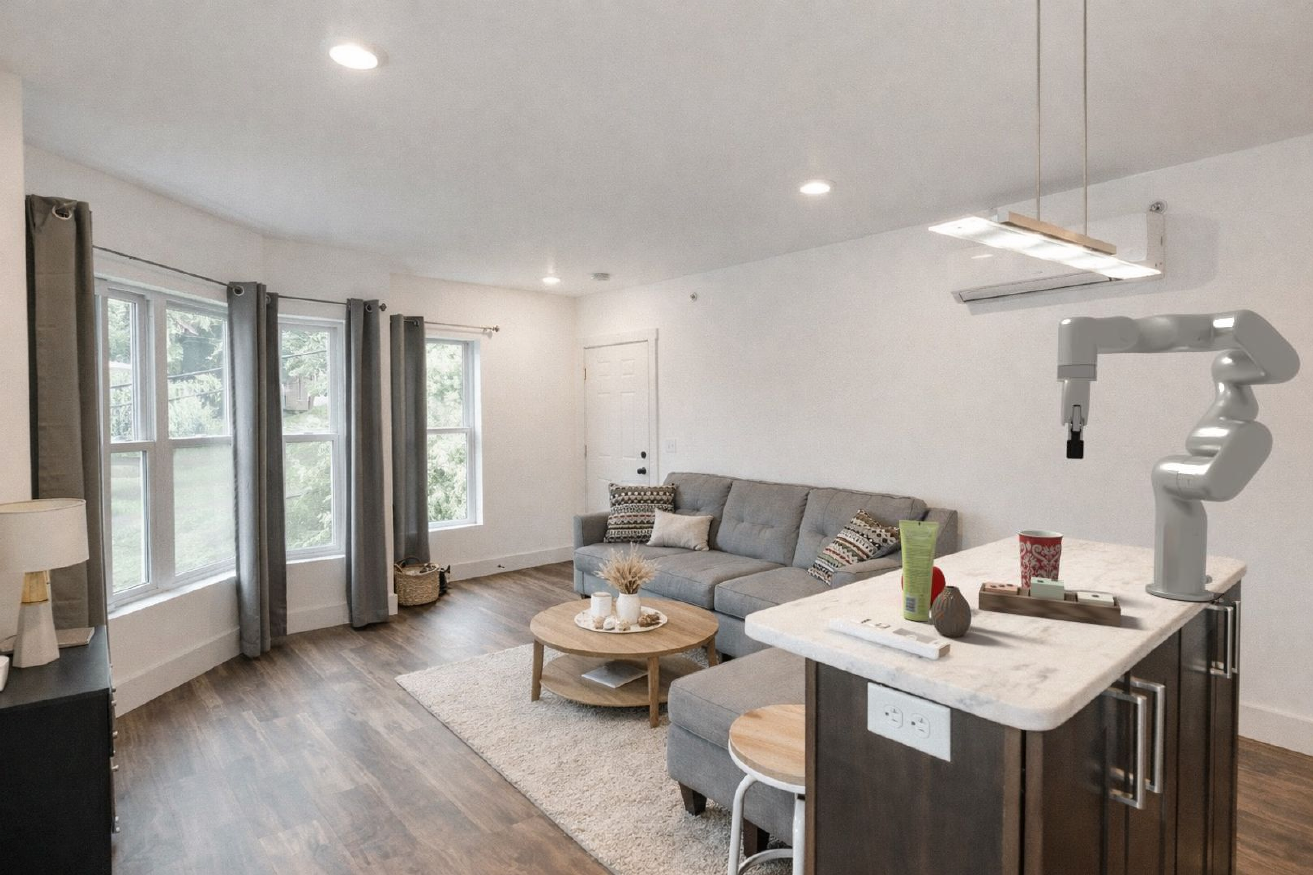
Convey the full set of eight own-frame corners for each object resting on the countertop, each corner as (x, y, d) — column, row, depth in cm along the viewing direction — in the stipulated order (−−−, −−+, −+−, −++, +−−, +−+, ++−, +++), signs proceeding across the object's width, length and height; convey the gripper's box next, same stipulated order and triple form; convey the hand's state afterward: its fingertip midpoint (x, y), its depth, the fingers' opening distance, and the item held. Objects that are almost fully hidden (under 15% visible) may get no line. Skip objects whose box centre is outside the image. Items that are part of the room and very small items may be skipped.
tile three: (1017, 598, 154) (1017, 583, 154) (1016, 605, 149) (1016, 589, 149) (986, 595, 157) (987, 580, 157) (984, 601, 152) (984, 586, 151)
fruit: (955, 606, 153) (956, 559, 153) (923, 611, 149) (924, 563, 149) (921, 595, 161) (922, 551, 161) (891, 600, 157) (891, 554, 157)
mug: (1047, 598, 159) (1048, 537, 159) (1008, 589, 167) (1010, 531, 167) (1078, 591, 166) (1080, 533, 165) (1040, 583, 174) (1041, 527, 173)
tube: (920, 613, 147) (921, 518, 146) (937, 620, 142) (939, 522, 141) (897, 616, 145) (898, 519, 144) (914, 623, 140) (916, 523, 140)
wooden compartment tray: (1116, 613, 147) (1116, 596, 147) (1120, 626, 138) (1120, 608, 138) (982, 598, 159) (982, 582, 159) (978, 609, 150) (978, 592, 150)
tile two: (1063, 594, 150) (1063, 578, 150) (1063, 600, 145) (1064, 584, 144) (1030, 590, 153) (1031, 575, 153) (1030, 597, 147) (1030, 581, 147)
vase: (924, 628, 137) (925, 582, 136) (959, 627, 137) (960, 582, 137) (941, 640, 130) (942, 592, 130) (978, 639, 130) (979, 591, 130)
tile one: (1111, 609, 146) (1111, 593, 146) (1113, 617, 141) (1114, 600, 140) (1077, 605, 149) (1077, 590, 149) (1078, 612, 143) (1078, 596, 143)
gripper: (1056, 376, 165) (1054, 456, 166) (1057, 373, 152) (1055, 460, 153) (1095, 375, 161) (1093, 457, 162) (1099, 372, 148) (1096, 461, 149)
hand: (1074, 458), depth 157 cm, fingers closed
